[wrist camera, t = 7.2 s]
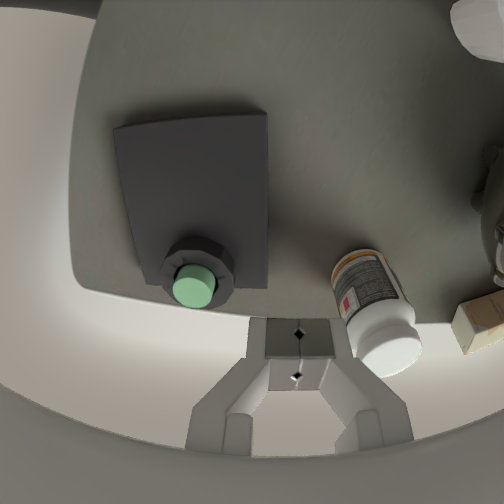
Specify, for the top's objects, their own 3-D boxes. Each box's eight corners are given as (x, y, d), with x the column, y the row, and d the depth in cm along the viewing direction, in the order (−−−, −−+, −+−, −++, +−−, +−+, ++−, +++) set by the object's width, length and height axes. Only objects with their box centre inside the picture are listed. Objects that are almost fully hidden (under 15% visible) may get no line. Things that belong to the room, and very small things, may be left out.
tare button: (175, 263, 21) (169, 276, 20) (213, 263, 21) (209, 278, 20) (181, 292, 23) (176, 307, 22) (217, 294, 23) (213, 309, 21)
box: (534, 309, 20) (476, 336, 22) (522, 331, 22) (464, 358, 24) (515, 282, 24) (457, 303, 26) (505, 304, 27) (448, 326, 28)
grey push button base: (122, 125, 19) (99, 134, 16) (267, 112, 18) (266, 117, 15) (153, 281, 27) (141, 305, 24) (267, 284, 26) (266, 311, 23)
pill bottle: (321, 291, 26) (337, 381, 18) (343, 239, 23) (376, 328, 15) (373, 300, 26) (400, 382, 18) (398, 252, 23) (443, 334, 15)
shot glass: (429, -2, 11) (481, -19, 5) (477, -9, 9) (527, -18, 3) (467, 73, 14) (525, 81, 8) (509, 59, 12) (562, 67, 6)
